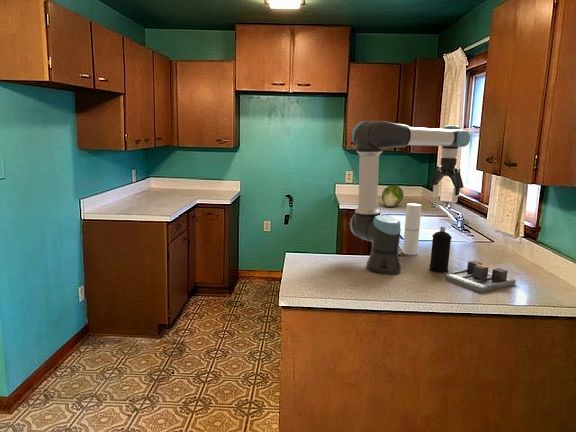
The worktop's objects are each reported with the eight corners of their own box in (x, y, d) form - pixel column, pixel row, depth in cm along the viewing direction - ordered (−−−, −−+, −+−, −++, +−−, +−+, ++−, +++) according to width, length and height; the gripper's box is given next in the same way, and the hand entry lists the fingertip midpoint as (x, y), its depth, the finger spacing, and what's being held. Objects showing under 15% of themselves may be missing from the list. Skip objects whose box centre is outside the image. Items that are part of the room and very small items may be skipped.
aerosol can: (438, 274, 205) (443, 229, 201) (425, 268, 212) (429, 225, 208) (452, 272, 209) (456, 228, 205) (438, 266, 216) (442, 224, 212)
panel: (481, 293, 183) (483, 277, 182) (444, 279, 198) (445, 264, 197) (515, 284, 194) (517, 269, 193) (477, 272, 209) (479, 258, 208)
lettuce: (386, 216, 369) (373, 199, 369) (392, 206, 389) (379, 191, 389) (403, 204, 360) (389, 187, 360) (408, 195, 380) (395, 179, 380)
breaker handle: (481, 279, 193) (482, 267, 192) (472, 276, 196) (474, 265, 195) (487, 277, 195) (488, 266, 194) (479, 274, 198) (480, 263, 197)
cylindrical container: (401, 253, 236) (405, 204, 231) (403, 250, 242) (407, 202, 238) (416, 255, 233) (420, 206, 229) (418, 252, 240) (422, 204, 235)
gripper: (474, 159, 223) (469, 203, 227) (436, 155, 245) (432, 195, 249) (462, 159, 220) (457, 203, 224) (425, 155, 242) (421, 196, 246)
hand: (444, 199), depth 237 cm, fingers open, 13 cm apart
